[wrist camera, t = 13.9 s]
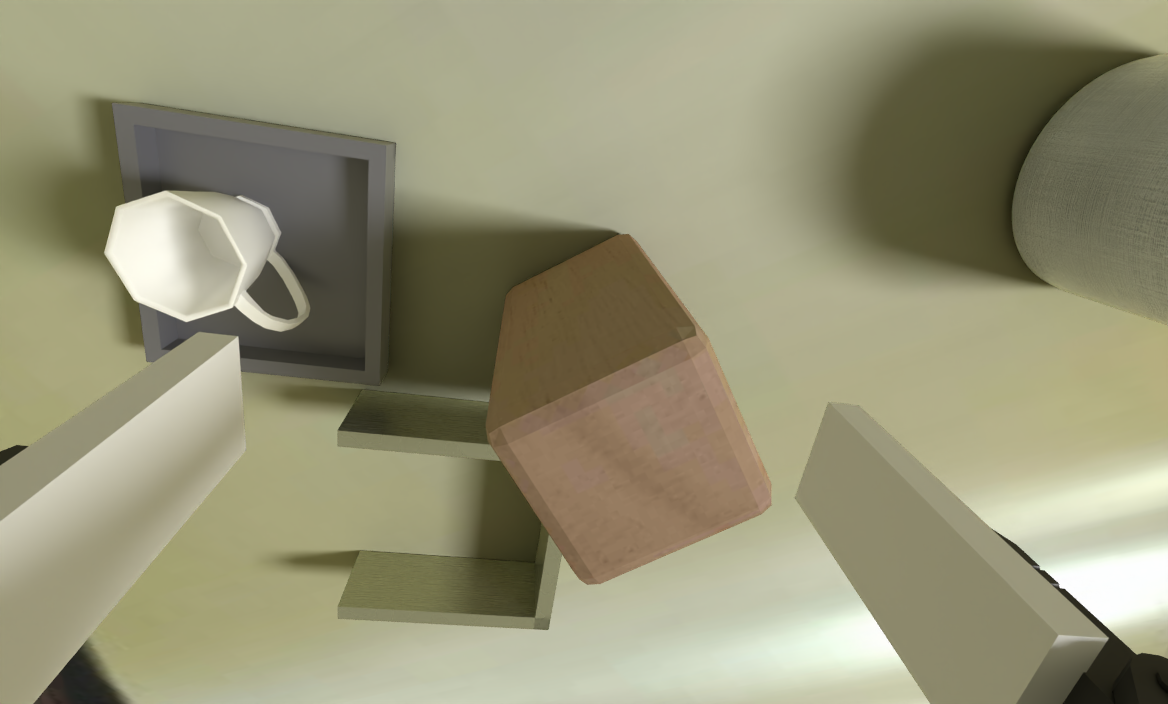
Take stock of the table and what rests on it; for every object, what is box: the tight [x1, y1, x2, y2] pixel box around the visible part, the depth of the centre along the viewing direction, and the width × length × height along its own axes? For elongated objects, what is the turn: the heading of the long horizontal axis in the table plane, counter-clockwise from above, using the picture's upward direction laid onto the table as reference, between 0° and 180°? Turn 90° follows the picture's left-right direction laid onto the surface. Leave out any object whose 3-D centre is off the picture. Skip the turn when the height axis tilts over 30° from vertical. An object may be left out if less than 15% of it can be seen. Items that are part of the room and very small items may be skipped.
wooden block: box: [486, 234, 771, 585], centre depth 34 cm, size 10×10×20 cm
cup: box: [104, 191, 310, 332], centre depth 35 cm, size 7×10×8 cm
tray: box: [112, 103, 396, 386], centre depth 38 cm, size 16×15×3 cm
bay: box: [338, 390, 562, 630], centre depth 45 cm, size 16×16×6 cm
